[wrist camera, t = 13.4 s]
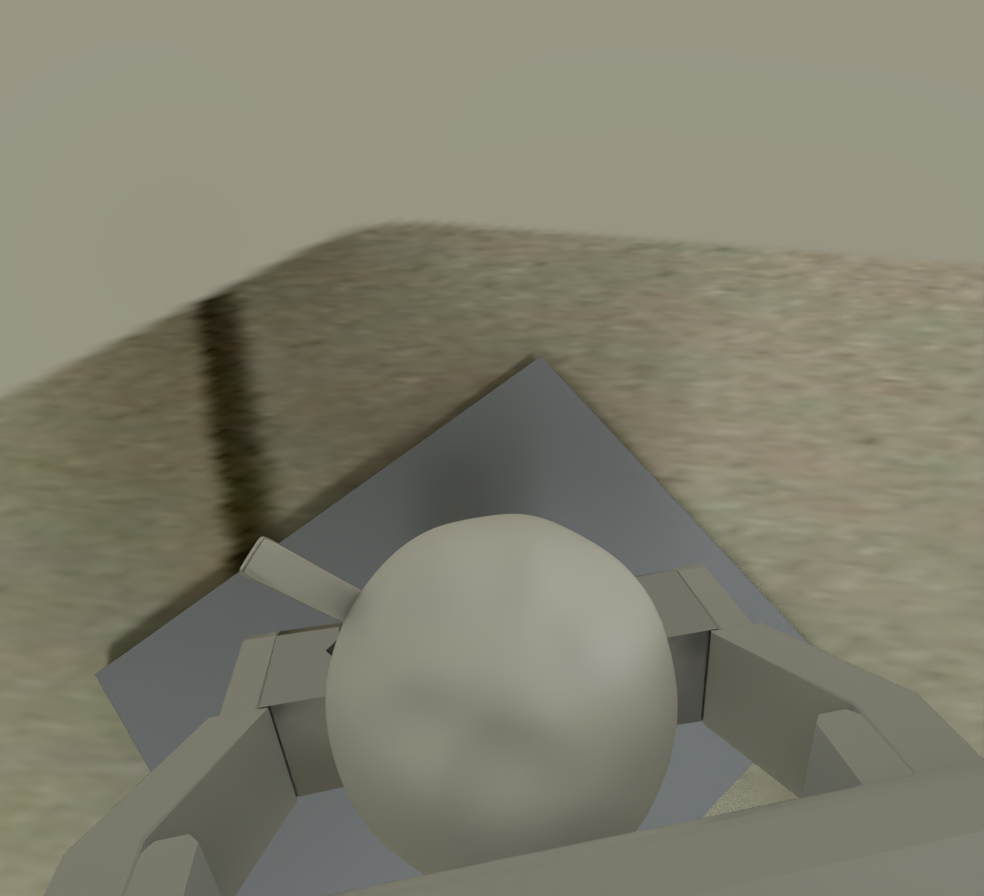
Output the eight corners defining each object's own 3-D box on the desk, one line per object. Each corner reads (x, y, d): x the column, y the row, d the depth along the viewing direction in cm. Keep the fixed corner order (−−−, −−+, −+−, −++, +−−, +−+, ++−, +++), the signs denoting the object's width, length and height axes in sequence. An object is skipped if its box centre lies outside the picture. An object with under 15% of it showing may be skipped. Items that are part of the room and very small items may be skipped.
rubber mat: (380, 1146, 14) (376, 1165, 13) (107, 674, 17) (95, 674, 17) (824, 673, 18) (836, 673, 18) (538, 364, 21) (541, 356, 21)
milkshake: (433, 544, 17) (359, 381, 7) (614, 638, 16) (793, 590, 7) (344, 705, 15) (114, 758, 6) (538, 817, 15) (626, 1086, 5)
